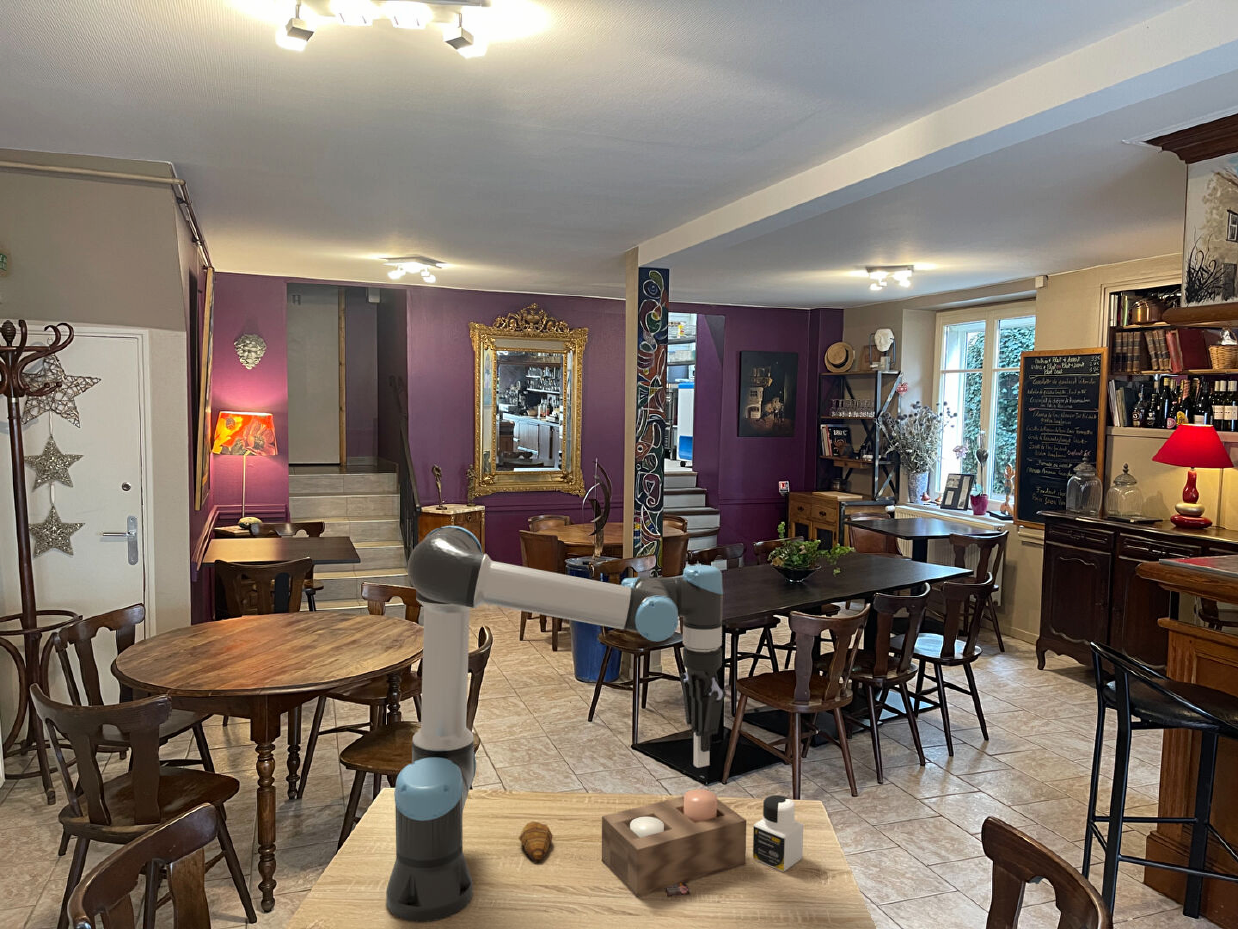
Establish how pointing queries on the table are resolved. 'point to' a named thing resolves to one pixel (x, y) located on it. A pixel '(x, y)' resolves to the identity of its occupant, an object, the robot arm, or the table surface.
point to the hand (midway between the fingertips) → (701, 765)
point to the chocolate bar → (677, 890)
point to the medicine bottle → (778, 834)
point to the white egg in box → (646, 826)
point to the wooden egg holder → (672, 846)
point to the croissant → (536, 840)
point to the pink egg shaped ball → (700, 805)
